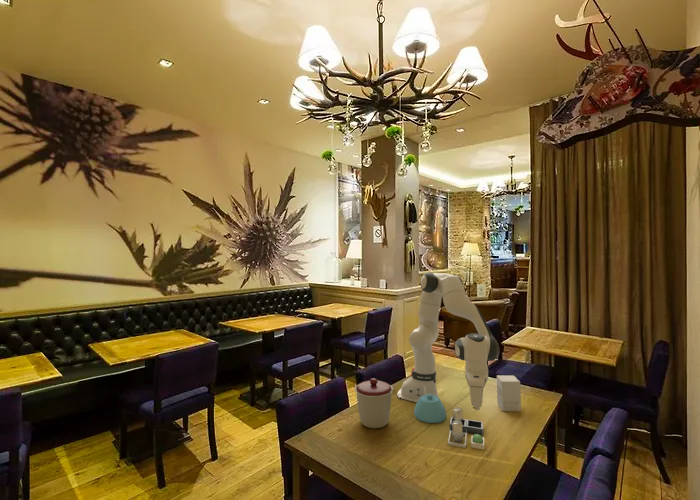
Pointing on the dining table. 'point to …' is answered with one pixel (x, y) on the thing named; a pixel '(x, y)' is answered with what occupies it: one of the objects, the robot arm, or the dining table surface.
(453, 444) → the tote
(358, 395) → the canister
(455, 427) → the cylinder
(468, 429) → the dark two-compartment tray
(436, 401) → the sugar bowl
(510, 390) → the supplement box
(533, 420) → the dining table surface
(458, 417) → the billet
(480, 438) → the button
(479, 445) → the box
